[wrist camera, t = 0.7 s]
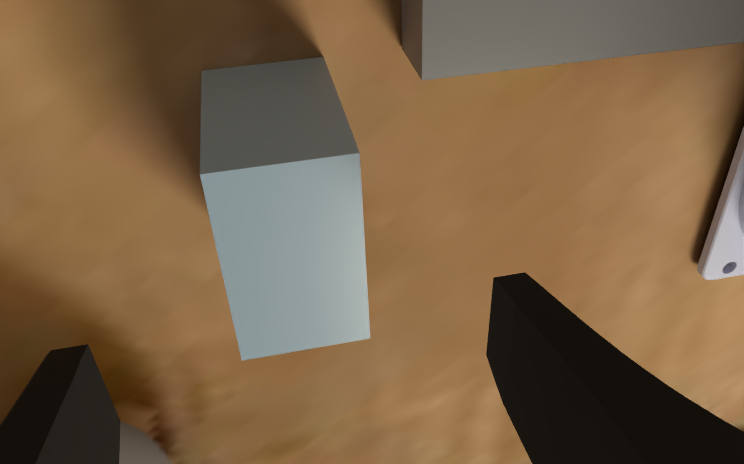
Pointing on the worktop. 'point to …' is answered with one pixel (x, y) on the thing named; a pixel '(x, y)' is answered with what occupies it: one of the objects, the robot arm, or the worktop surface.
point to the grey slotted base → (556, 31)
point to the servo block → (284, 205)
